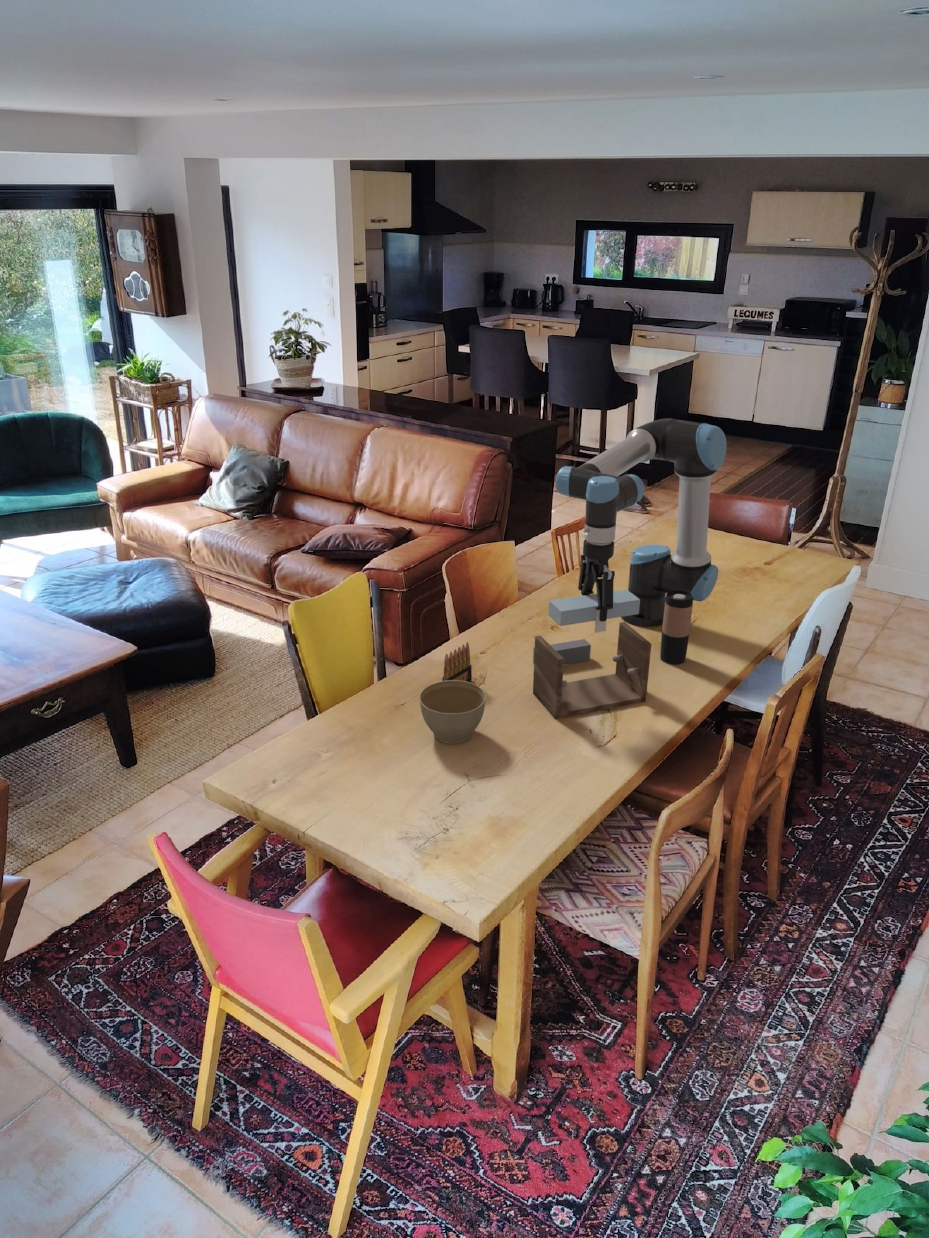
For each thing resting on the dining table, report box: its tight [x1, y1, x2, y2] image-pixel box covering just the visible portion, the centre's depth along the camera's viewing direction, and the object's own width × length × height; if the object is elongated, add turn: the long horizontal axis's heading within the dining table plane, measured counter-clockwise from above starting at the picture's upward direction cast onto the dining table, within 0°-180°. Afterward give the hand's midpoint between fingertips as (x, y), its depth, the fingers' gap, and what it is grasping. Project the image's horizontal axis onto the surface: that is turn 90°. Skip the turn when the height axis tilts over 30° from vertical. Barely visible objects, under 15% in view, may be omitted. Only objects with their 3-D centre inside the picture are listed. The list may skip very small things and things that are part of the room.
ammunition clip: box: [441, 641, 473, 683], centre depth 244 cm, size 11×2×12 cm, turn 142°
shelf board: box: [548, 589, 640, 627], centre depth 231 cm, size 22×7×4 cm, turn 110°
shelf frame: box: [532, 621, 652, 720], centre depth 238 cm, size 26×14×17 cm, turn 110°
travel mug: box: [659, 590, 694, 665], centre depth 258 cm, size 8×8×20 cm
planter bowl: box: [418, 680, 487, 745], centre depth 223 cm, size 16×16×11 cm
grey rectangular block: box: [532, 638, 592, 666], centre depth 259 cm, size 16×4×5 cm, turn 110°
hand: (593, 625), depth 233 cm, fingers closed on shelf board, 7 cm apart
